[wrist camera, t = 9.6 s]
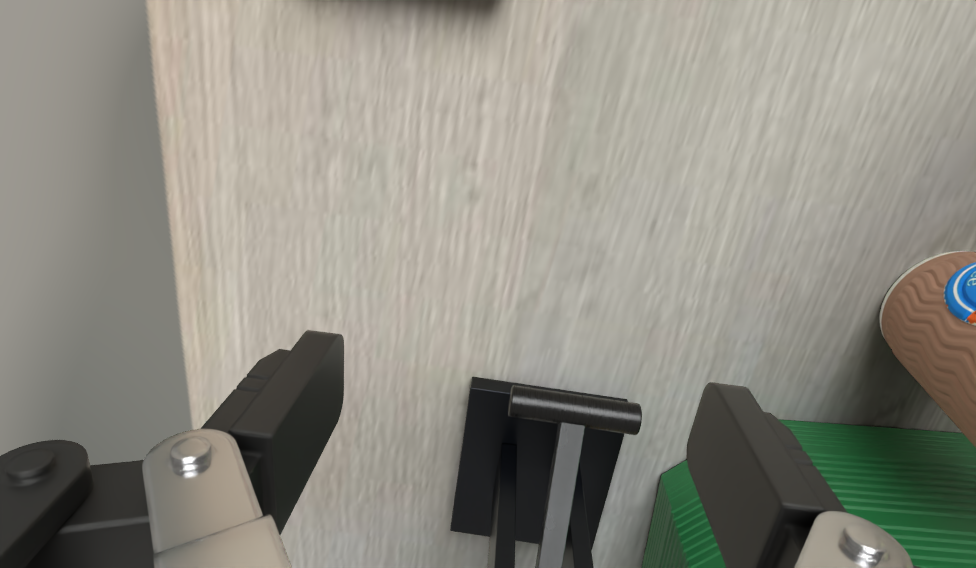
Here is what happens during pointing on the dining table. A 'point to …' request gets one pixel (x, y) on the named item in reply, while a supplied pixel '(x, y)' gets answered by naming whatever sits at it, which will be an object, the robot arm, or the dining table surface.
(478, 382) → the black upright frame
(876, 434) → the planter
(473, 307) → the dining table surface
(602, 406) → the lever
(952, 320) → the coffee cup
